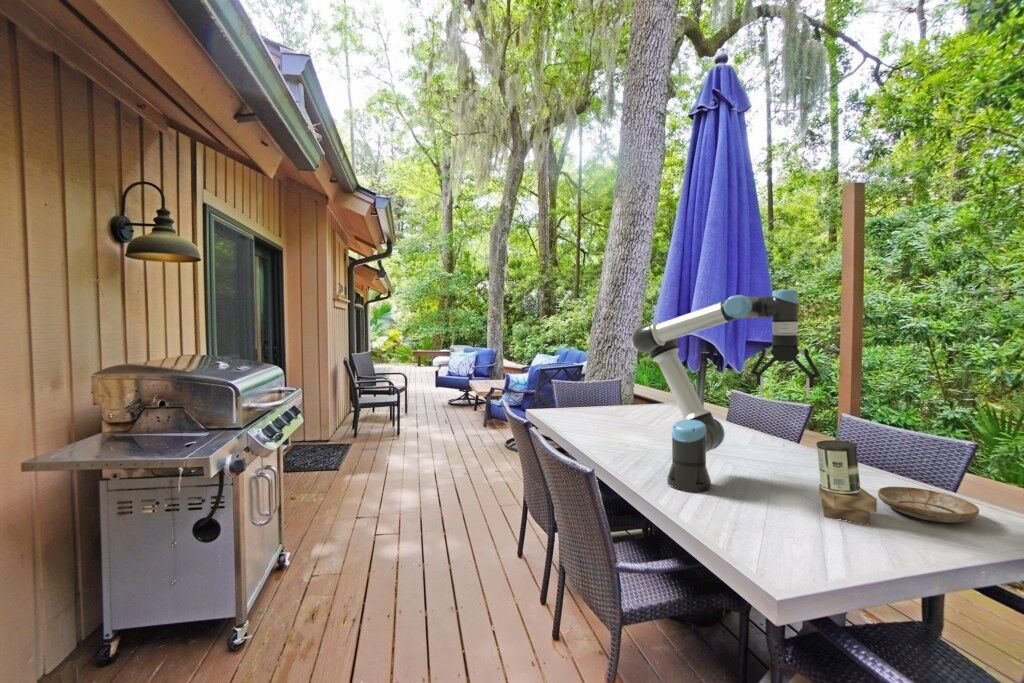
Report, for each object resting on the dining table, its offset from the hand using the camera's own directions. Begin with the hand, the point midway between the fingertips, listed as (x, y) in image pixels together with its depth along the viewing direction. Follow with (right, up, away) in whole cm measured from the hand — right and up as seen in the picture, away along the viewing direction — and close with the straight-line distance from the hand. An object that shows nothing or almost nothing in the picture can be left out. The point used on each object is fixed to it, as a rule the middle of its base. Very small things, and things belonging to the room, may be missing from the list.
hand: (784, 396), depth 155 cm
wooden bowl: (+35, -35, -15) cm, 52 cm away
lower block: (+9, -36, -15) cm, 40 cm away
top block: (+10, -32, -16) cm, 37 cm away
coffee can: (+8, -27, -15) cm, 32 cm away
